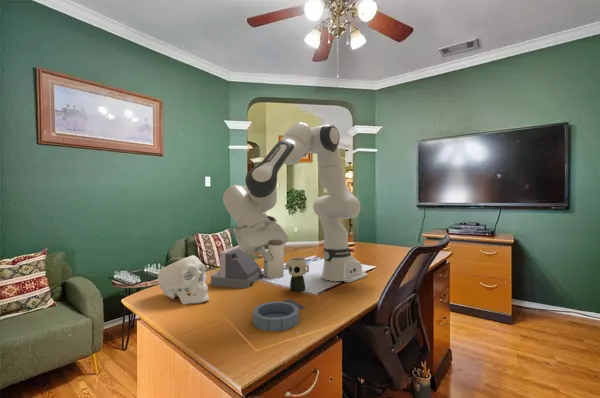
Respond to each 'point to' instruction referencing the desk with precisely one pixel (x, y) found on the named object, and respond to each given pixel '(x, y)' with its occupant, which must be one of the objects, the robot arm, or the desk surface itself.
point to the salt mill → (276, 259)
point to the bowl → (276, 316)
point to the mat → (294, 303)
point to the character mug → (297, 272)
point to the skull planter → (184, 280)
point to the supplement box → (265, 267)
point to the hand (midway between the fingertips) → (277, 258)
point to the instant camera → (236, 270)
